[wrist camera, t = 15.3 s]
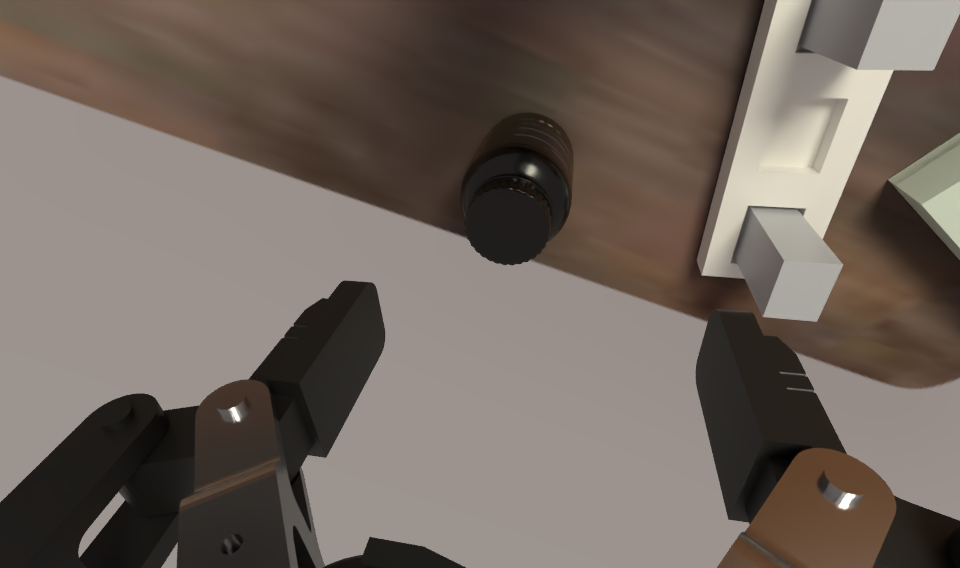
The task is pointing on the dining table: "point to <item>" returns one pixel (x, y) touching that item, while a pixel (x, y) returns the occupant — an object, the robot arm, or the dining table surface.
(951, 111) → the dining table surface
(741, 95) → the block
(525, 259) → the supplement bottle
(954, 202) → the sage tray
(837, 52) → the block
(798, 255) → the block
